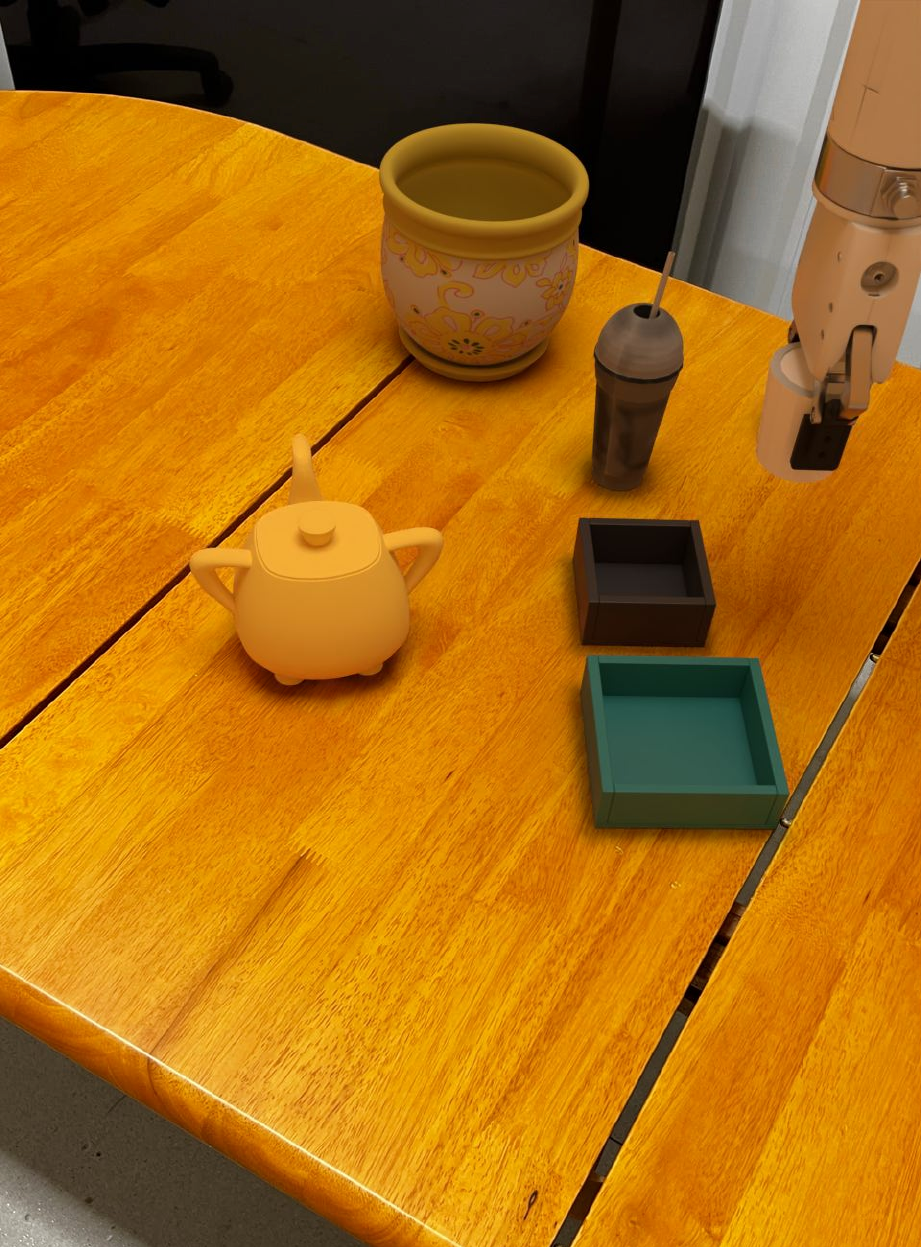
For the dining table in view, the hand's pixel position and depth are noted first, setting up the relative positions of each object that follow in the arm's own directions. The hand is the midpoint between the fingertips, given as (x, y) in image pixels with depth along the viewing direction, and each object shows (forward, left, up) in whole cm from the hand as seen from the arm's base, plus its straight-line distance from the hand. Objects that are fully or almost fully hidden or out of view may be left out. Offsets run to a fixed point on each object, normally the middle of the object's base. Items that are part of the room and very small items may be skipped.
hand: (803, 431), depth 86 cm
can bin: (+9, -1, -17) cm, 19 cm away
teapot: (+34, +2, -17) cm, 38 cm away
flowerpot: (+21, -36, -17) cm, 45 cm away
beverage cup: (+9, -17, -17) cm, 26 cm away
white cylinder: (0, 0, -2) cm, 2 cm away
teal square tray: (+8, +15, -17) cm, 24 cm away
